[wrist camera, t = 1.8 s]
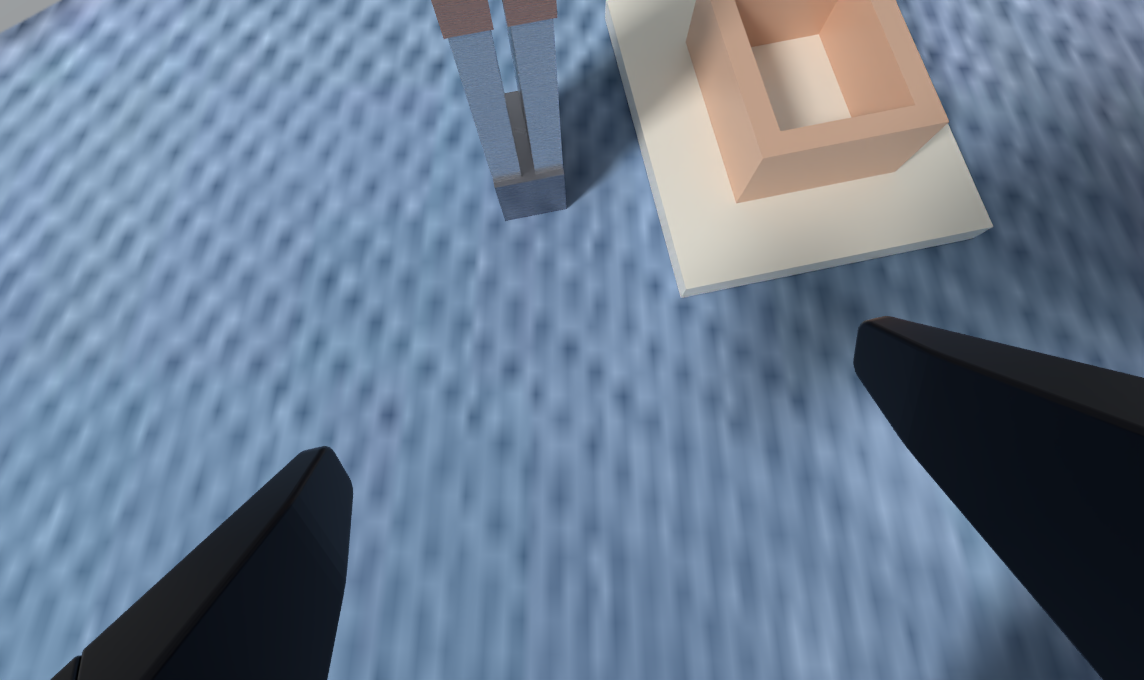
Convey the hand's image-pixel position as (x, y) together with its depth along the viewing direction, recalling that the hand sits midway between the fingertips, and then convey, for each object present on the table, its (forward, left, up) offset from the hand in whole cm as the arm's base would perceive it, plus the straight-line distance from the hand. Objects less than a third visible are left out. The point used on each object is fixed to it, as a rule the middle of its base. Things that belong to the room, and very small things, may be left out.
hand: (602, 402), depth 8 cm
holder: (0, -18, -14) cm, 23 cm away
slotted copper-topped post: (+9, -9, -14) cm, 19 cm away
